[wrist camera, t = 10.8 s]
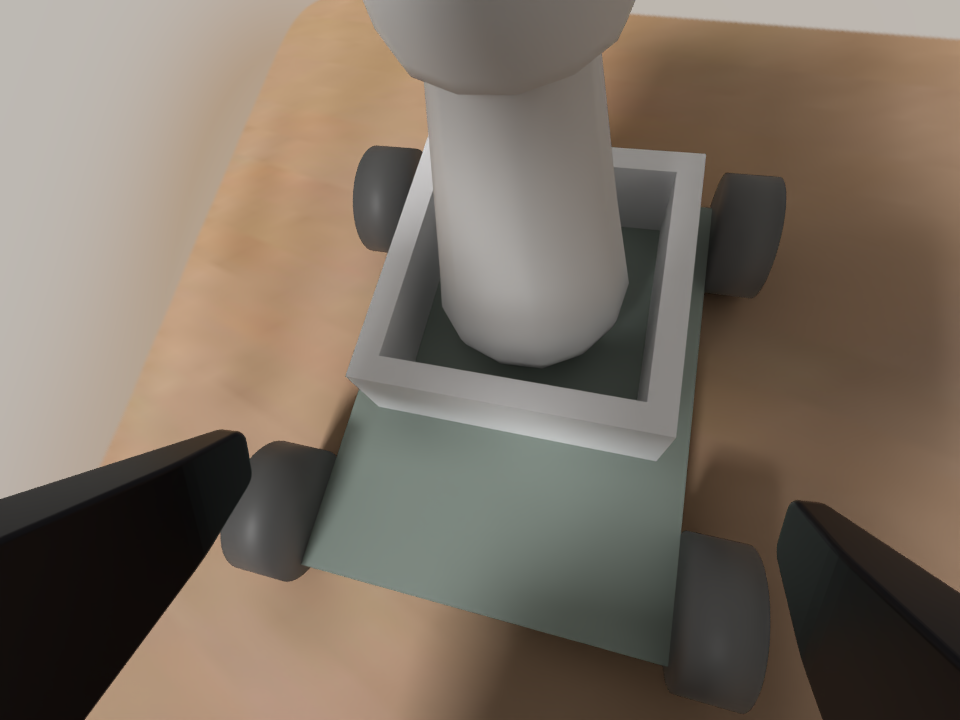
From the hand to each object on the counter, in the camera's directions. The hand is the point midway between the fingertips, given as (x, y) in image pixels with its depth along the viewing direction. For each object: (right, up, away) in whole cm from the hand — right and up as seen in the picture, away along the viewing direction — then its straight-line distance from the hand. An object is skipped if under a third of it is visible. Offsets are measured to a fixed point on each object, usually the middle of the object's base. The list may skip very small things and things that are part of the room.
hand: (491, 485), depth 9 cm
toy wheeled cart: (+1, +1, +10) cm, 11 cm away
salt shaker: (+2, +4, +10) cm, 11 cm away
